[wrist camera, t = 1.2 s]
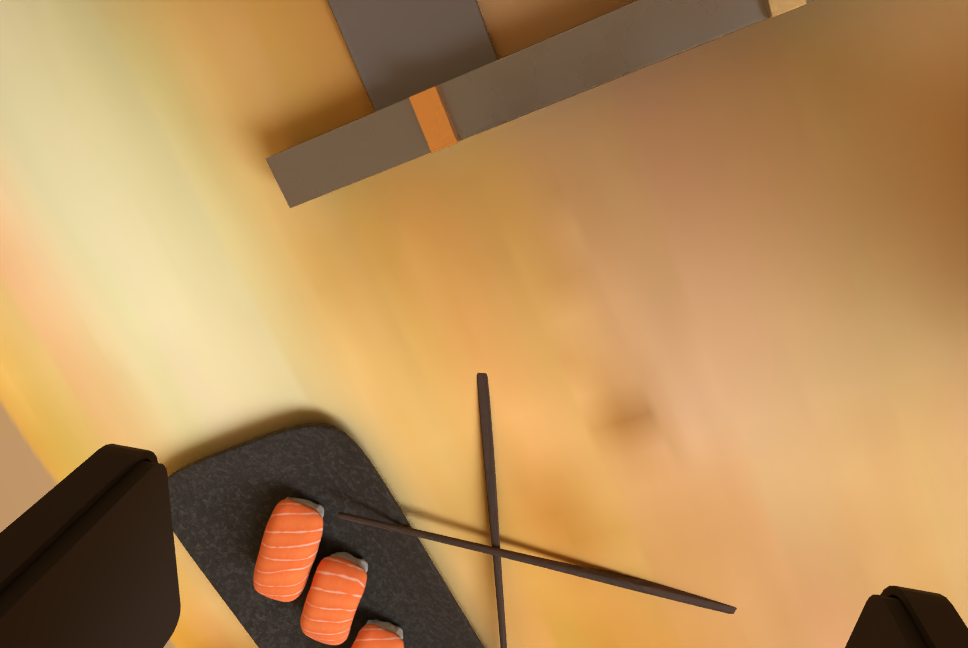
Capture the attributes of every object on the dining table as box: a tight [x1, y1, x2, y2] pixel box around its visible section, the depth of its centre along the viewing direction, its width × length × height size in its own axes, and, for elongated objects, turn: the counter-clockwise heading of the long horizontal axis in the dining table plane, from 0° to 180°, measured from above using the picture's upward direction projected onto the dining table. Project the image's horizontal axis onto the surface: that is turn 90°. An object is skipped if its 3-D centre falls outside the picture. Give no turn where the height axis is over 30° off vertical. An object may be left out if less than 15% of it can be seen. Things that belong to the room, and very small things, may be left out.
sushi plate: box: [168, 373, 737, 648], centre depth 40 cm, size 29×30×4 cm
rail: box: [266, 0, 813, 208], centre depth 27 cm, size 30×2×3 cm, turn 112°
